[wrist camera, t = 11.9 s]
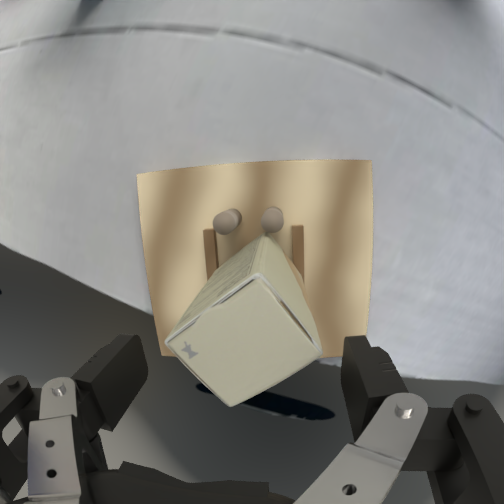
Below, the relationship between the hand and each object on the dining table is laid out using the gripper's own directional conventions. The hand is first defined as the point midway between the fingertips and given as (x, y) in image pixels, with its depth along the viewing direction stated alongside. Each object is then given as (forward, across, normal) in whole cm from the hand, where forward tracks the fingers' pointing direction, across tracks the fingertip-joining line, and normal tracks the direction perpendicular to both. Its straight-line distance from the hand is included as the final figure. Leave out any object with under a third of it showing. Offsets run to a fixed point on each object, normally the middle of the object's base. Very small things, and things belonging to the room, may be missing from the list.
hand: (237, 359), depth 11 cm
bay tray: (+14, 0, 0) cm, 14 cm away
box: (+12, 0, 0) cm, 12 cm away
